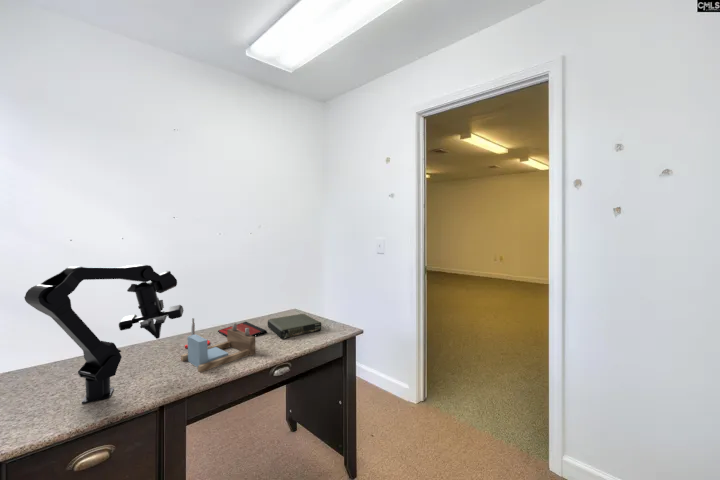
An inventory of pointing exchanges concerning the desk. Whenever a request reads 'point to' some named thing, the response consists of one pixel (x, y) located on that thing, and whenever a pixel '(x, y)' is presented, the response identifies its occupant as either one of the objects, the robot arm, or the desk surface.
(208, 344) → the tow hook
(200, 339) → the block
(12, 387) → the desk surface
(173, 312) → the robot arm
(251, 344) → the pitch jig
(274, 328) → the dark green electronics case
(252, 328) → the binder
